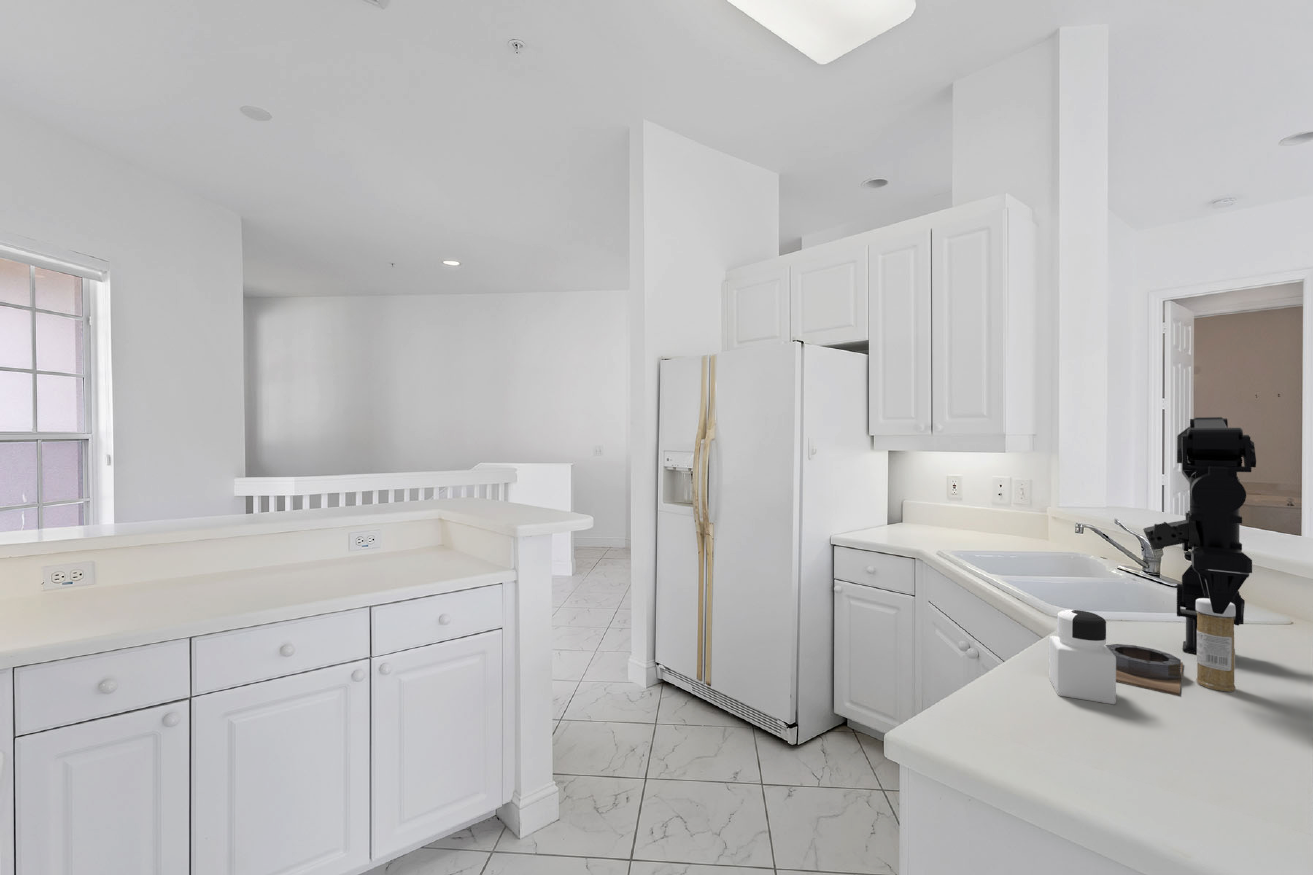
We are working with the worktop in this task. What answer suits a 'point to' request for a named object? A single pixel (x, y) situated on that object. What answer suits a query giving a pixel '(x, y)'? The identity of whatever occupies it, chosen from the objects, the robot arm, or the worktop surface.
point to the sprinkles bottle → (1215, 646)
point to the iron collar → (1146, 662)
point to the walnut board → (1151, 682)
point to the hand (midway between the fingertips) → (1213, 606)
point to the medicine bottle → (1082, 658)
